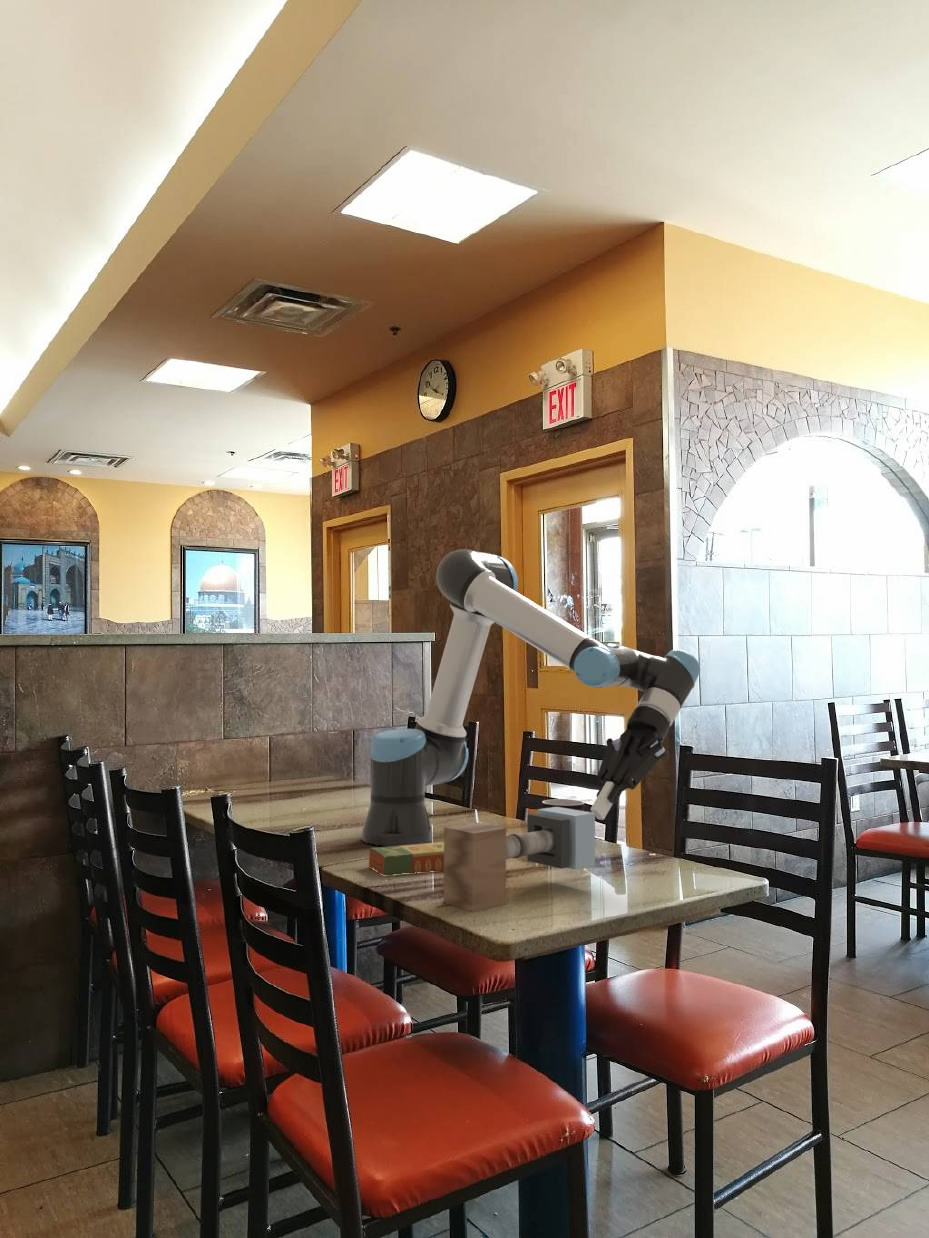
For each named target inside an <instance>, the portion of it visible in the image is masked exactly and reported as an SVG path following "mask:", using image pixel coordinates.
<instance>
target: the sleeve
mask: <svg viewBox="0 0 929 1238" xmlns="http://www.w3.org/2000/svg"><path fill="white" fill-rule="evenodd" d="M537 814H543V815H548V816H554V817H560V818H566V819H570V824H569V867H566V868H568V869H572V870H579V869H585V868H589V867H594V866H596V816H595V813H593V812H592V811H585V810H584V811H580V810H573V809H567V808H561V807H552V808H545V809H543V808H539V809H537ZM547 829H553V828H548V827H543V826H542V830H547ZM547 853H552V854H554V850H552V851H547Z"/></svg>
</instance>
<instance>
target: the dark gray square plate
mask: <svg viewBox="0 0 929 1238" xmlns="http://www.w3.org/2000/svg"><path fill="white" fill-rule="evenodd" d="M526 821H527V822H526V823H527V828H526V829H527V832H526V833H529V832H535V831H541V830H542V826H543V827H548V828H553V829H554V854H552V853H547V852H541V853H536V854H530V855H526V858H527V859H526V861H527V862H532V863H536V864H540V865H544V866H548V867H552V868H558V869H565V868H567V867H569V824H570V819H566V818H560V817H554V816H548V815H543V814H537V813H535V812H534V813H529V814H527V819H526Z"/></svg>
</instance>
